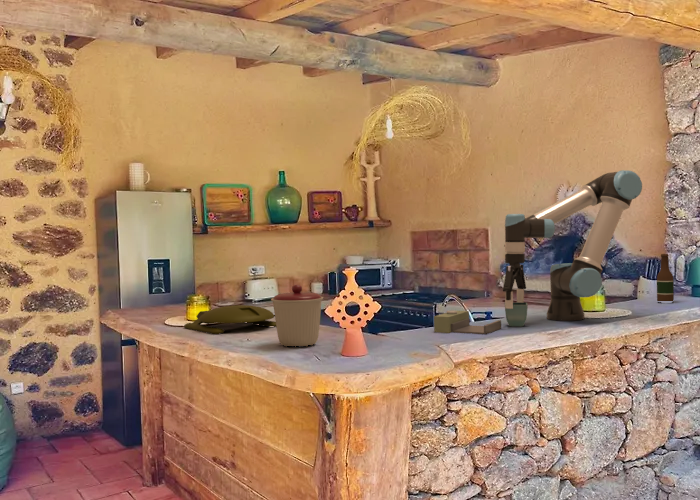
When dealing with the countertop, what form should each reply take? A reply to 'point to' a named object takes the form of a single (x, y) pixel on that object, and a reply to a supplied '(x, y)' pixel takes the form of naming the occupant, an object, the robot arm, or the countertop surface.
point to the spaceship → (231, 317)
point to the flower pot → (517, 314)
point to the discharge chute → (474, 327)
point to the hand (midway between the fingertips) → (514, 306)
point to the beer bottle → (665, 281)
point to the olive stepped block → (448, 320)
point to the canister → (297, 317)
